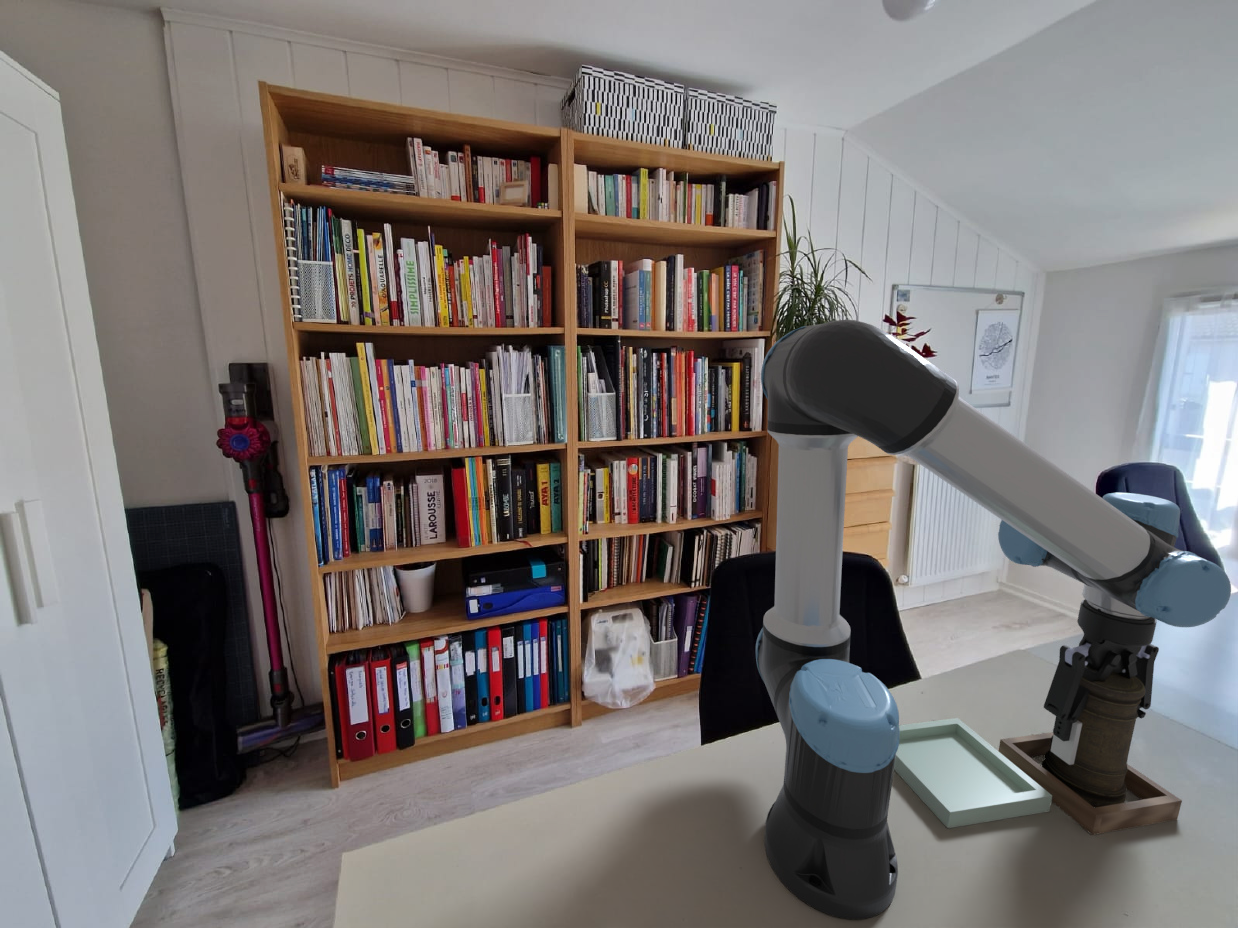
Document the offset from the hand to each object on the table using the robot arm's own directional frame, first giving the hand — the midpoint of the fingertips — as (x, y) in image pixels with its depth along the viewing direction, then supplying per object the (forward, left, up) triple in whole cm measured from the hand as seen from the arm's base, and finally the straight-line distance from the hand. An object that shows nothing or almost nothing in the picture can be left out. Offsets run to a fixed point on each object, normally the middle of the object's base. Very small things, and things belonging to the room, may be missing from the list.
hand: (1086, 753), depth 75 cm
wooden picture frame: (0, 0, -5) cm, 5 cm away
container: (0, 0, -5) cm, 5 cm away
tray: (-17, +5, -5) cm, 18 cm away
